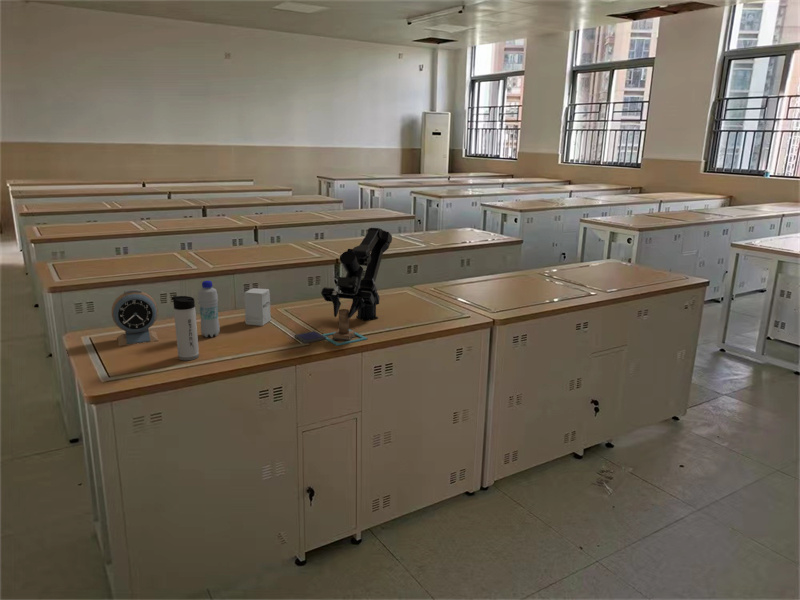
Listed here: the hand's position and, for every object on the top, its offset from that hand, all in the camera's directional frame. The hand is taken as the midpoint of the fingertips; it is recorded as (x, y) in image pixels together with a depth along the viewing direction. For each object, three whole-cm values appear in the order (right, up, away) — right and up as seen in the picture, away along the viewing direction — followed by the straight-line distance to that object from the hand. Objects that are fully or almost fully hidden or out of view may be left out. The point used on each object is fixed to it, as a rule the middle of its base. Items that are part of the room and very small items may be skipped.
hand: (341, 317), depth 198 cm
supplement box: (-34, -3, +19) cm, 39 cm away
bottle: (-47, -7, +3) cm, 48 cm away
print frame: (0, -7, +3) cm, 8 cm away
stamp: (0, -7, +4) cm, 8 cm away
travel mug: (-47, -12, -17) cm, 52 cm away
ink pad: (-11, -7, +2) cm, 14 cm away
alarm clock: (-71, -8, -2) cm, 71 cm away
